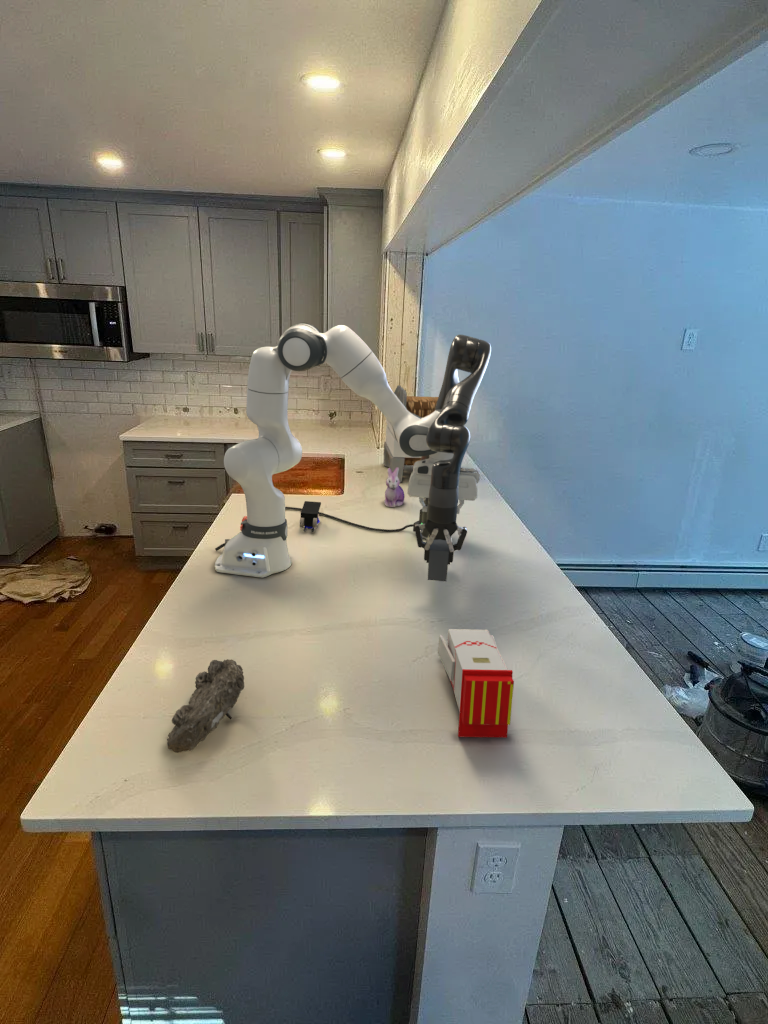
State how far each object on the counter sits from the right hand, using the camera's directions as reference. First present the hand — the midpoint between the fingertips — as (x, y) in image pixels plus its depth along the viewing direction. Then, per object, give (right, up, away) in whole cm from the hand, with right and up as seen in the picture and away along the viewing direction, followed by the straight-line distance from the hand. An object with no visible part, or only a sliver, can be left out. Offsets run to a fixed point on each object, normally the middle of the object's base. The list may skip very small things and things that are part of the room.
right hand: (438, 562), depth 150 cm
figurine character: (-41, +8, +52) cm, 67 cm away
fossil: (-47, -26, -42) cm, 68 cm away
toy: (+4, -24, -32) cm, 40 cm away
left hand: (+2, +13, +17) cm, 22 cm away
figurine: (-10, +16, +80) cm, 82 cm away
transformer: (+3, +32, +125) cm, 129 cm away
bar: (+1, 0, +11) cm, 11 cm away
